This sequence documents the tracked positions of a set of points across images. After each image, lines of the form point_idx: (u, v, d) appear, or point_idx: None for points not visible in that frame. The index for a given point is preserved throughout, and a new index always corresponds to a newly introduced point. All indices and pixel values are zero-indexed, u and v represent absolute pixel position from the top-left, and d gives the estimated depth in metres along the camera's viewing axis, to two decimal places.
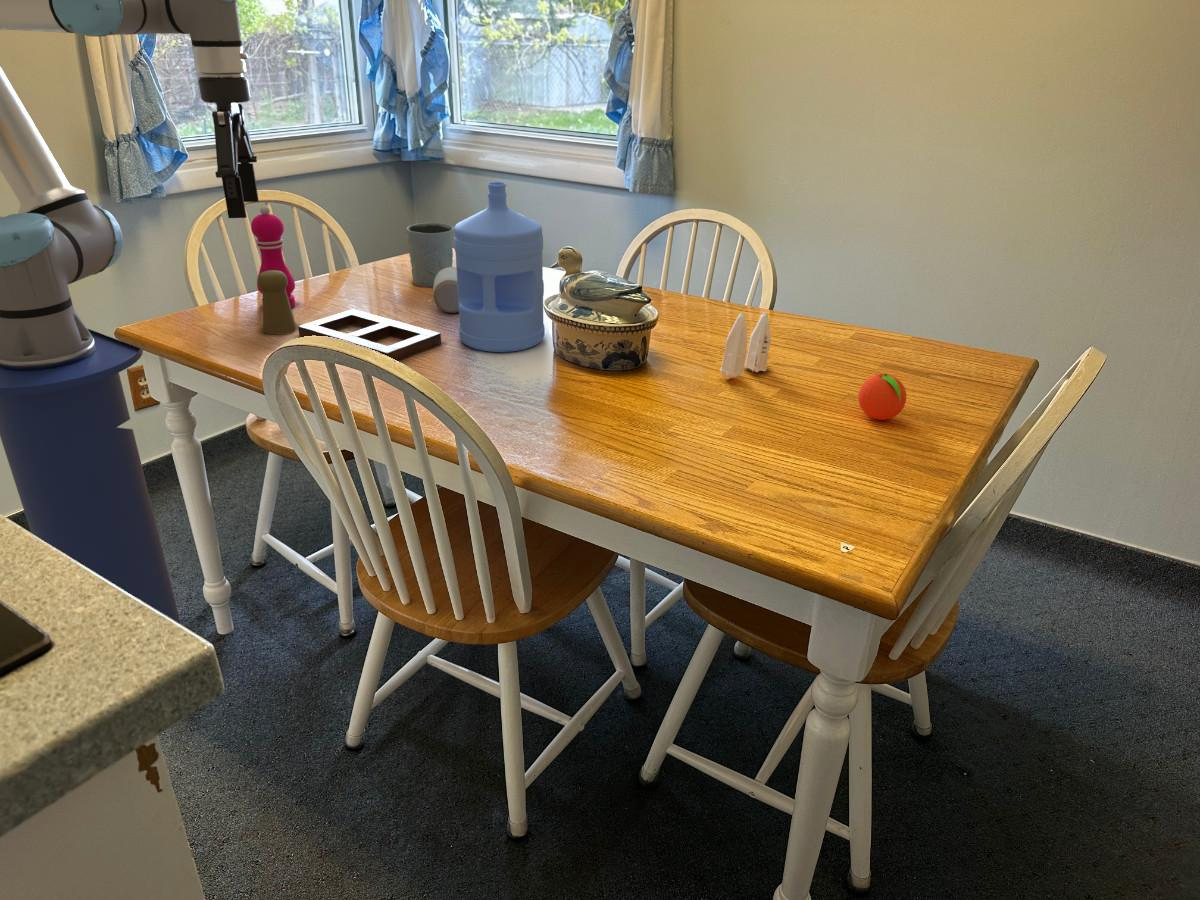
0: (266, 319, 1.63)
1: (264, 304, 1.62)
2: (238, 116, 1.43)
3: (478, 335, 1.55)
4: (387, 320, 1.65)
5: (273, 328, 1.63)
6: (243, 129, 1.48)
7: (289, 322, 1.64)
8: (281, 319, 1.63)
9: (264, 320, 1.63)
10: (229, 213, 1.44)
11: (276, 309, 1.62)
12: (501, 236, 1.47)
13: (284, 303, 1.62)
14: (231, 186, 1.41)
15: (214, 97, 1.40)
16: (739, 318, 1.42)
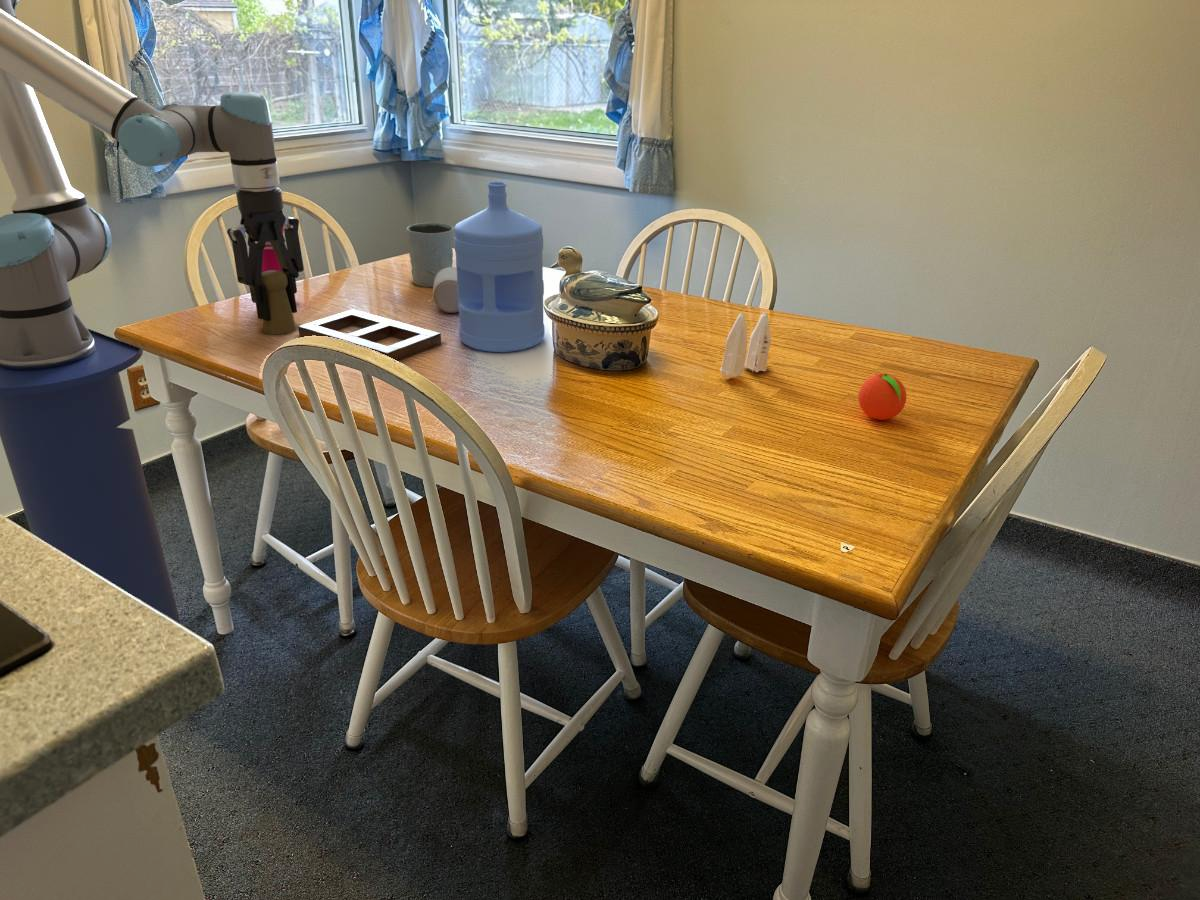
0: None
1: None
2: (261, 225, 1.55)
3: (478, 335, 1.55)
4: (387, 320, 1.65)
5: (273, 328, 1.63)
6: (277, 237, 1.58)
7: (289, 322, 1.64)
8: (281, 319, 1.63)
9: (264, 320, 1.63)
10: (258, 314, 1.62)
11: (276, 309, 1.62)
12: (501, 236, 1.47)
13: (284, 303, 1.62)
14: (253, 293, 1.59)
15: (239, 207, 1.53)
16: (739, 318, 1.42)
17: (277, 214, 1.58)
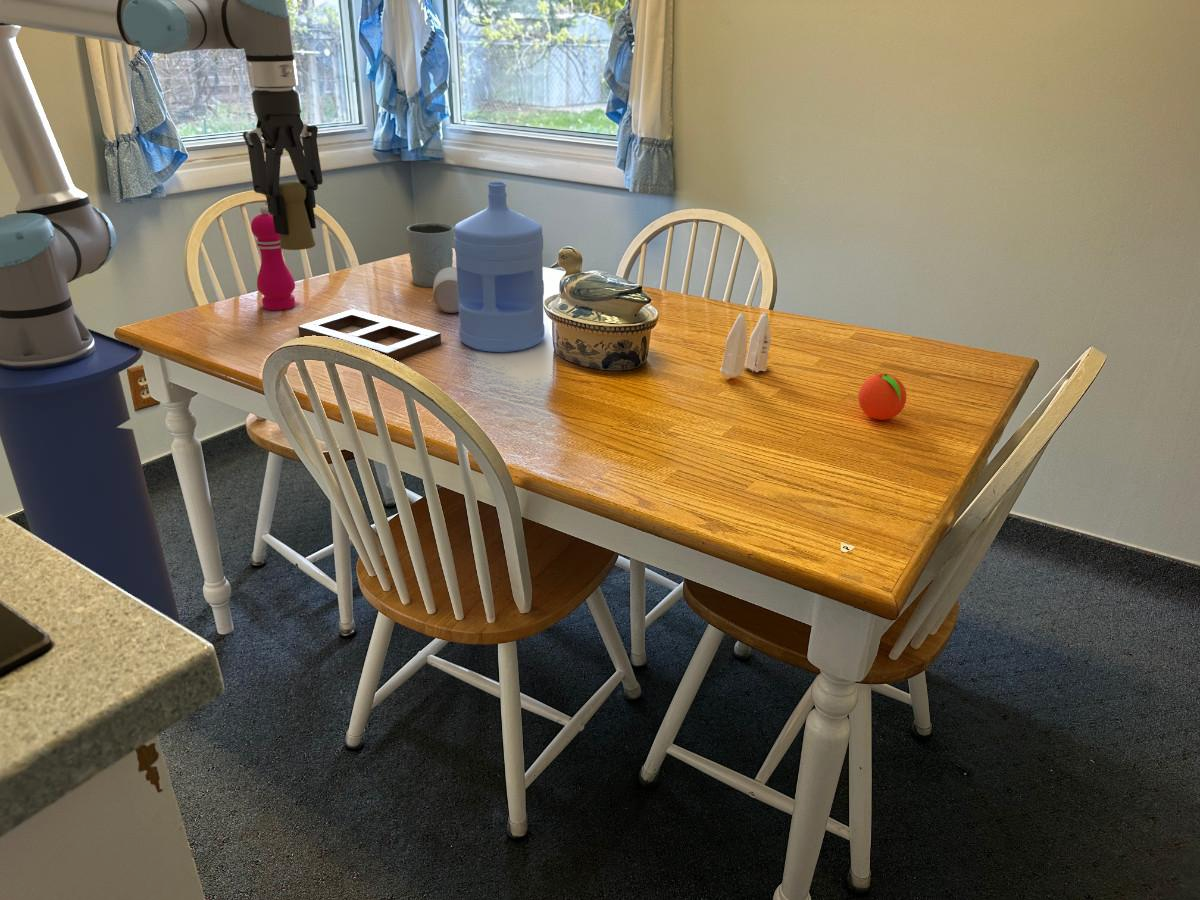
0: None
1: None
2: (278, 129, 1.46)
3: (478, 335, 1.55)
4: (387, 320, 1.65)
5: (291, 243, 1.54)
6: (295, 144, 1.49)
7: (308, 237, 1.55)
8: (299, 234, 1.53)
9: (281, 235, 1.54)
10: (275, 228, 1.53)
11: (294, 223, 1.52)
12: (501, 236, 1.47)
13: (302, 217, 1.53)
14: (270, 204, 1.50)
15: (255, 109, 1.44)
16: (739, 318, 1.42)
17: (295, 119, 1.48)
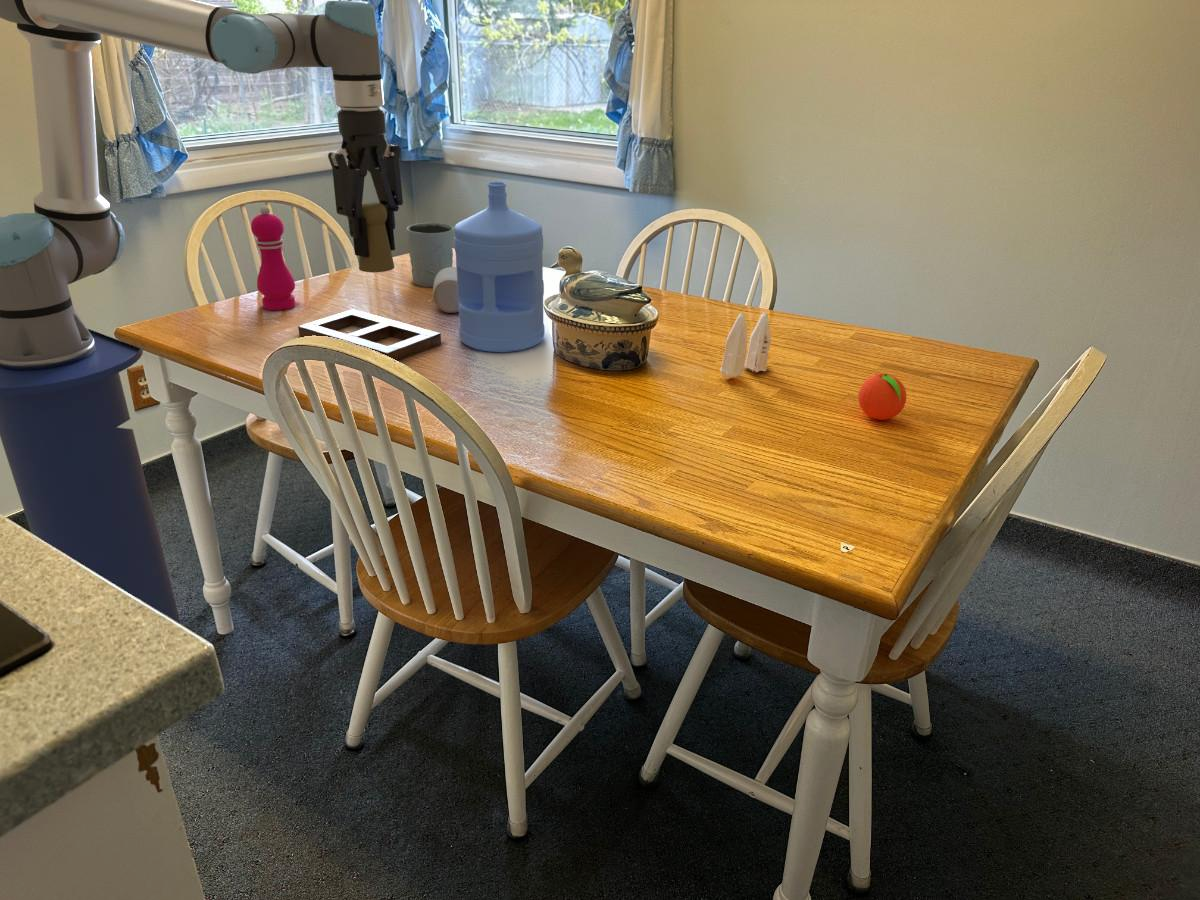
0: None
1: None
2: (364, 150, 1.42)
3: (478, 335, 1.55)
4: (387, 320, 1.65)
5: (372, 266, 1.50)
6: (378, 165, 1.45)
7: (388, 259, 1.51)
8: (380, 256, 1.49)
9: (361, 257, 1.50)
10: (355, 250, 1.49)
11: (375, 245, 1.48)
12: (501, 236, 1.47)
13: (383, 239, 1.49)
14: (352, 226, 1.46)
15: (340, 129, 1.40)
16: (739, 318, 1.42)
17: (379, 139, 1.44)
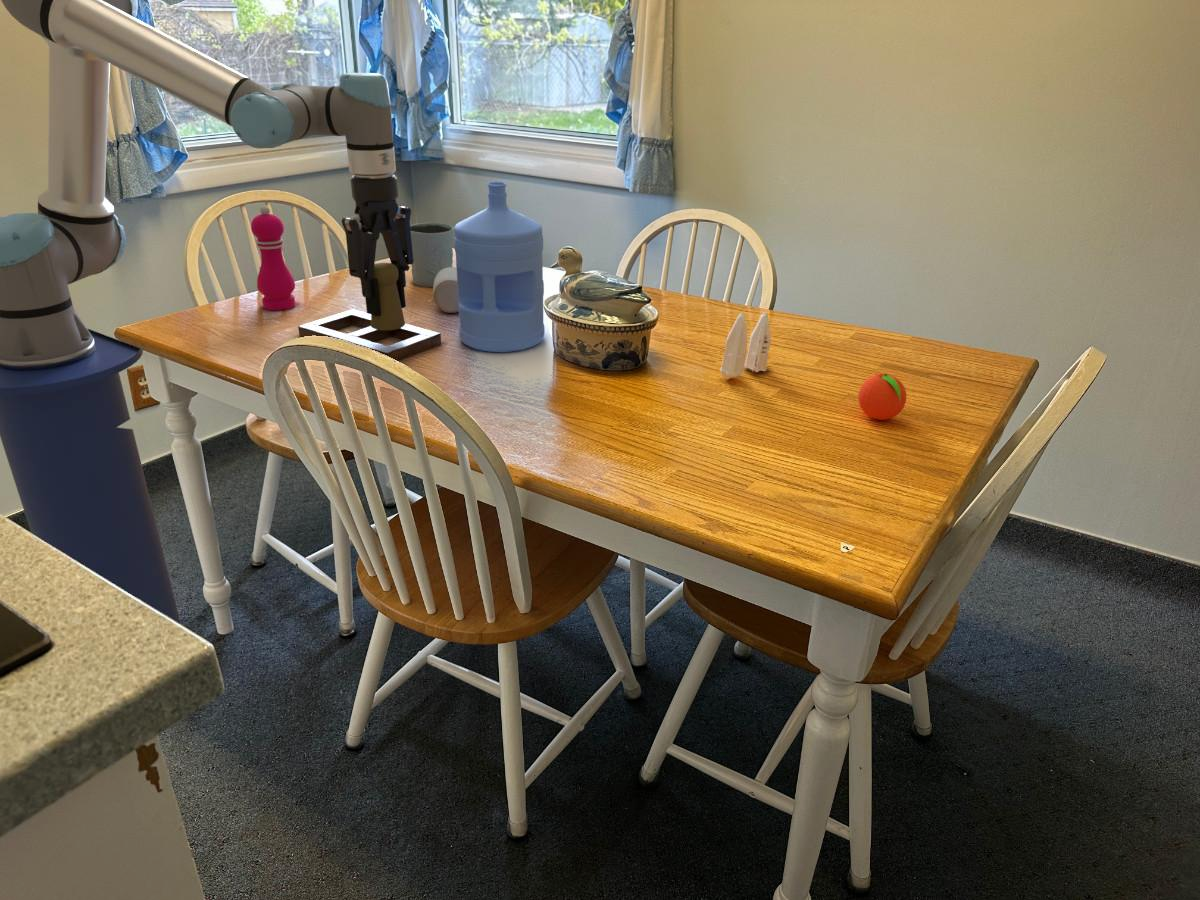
0: None
1: None
2: (376, 214, 1.46)
3: (478, 335, 1.55)
4: None
5: (383, 324, 1.54)
6: (390, 227, 1.49)
7: (399, 317, 1.55)
8: (391, 315, 1.54)
9: (373, 315, 1.54)
10: (367, 309, 1.53)
11: (386, 304, 1.53)
12: (501, 236, 1.47)
13: (395, 298, 1.53)
14: (364, 287, 1.50)
15: (354, 195, 1.44)
16: (739, 318, 1.42)
17: (391, 203, 1.49)
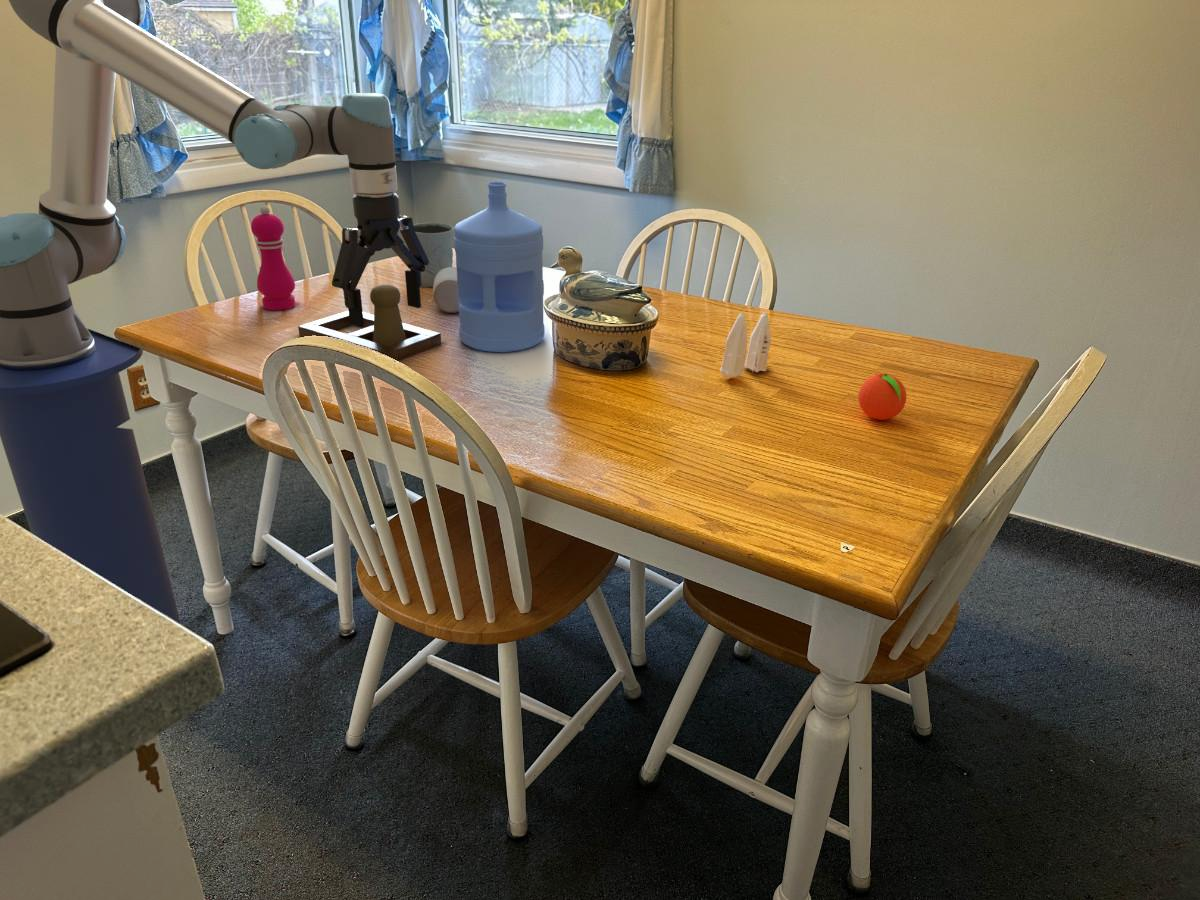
0: (378, 336, 1.55)
1: (376, 320, 1.55)
2: (378, 232, 1.47)
3: (478, 335, 1.55)
4: None
5: None
6: (396, 243, 1.51)
7: (401, 338, 1.57)
8: (393, 336, 1.55)
9: (375, 337, 1.56)
10: (350, 320, 1.51)
11: (388, 326, 1.54)
12: (501, 236, 1.47)
13: (397, 319, 1.55)
14: (347, 297, 1.48)
15: (356, 214, 1.46)
16: (739, 318, 1.42)
17: (391, 223, 1.50)
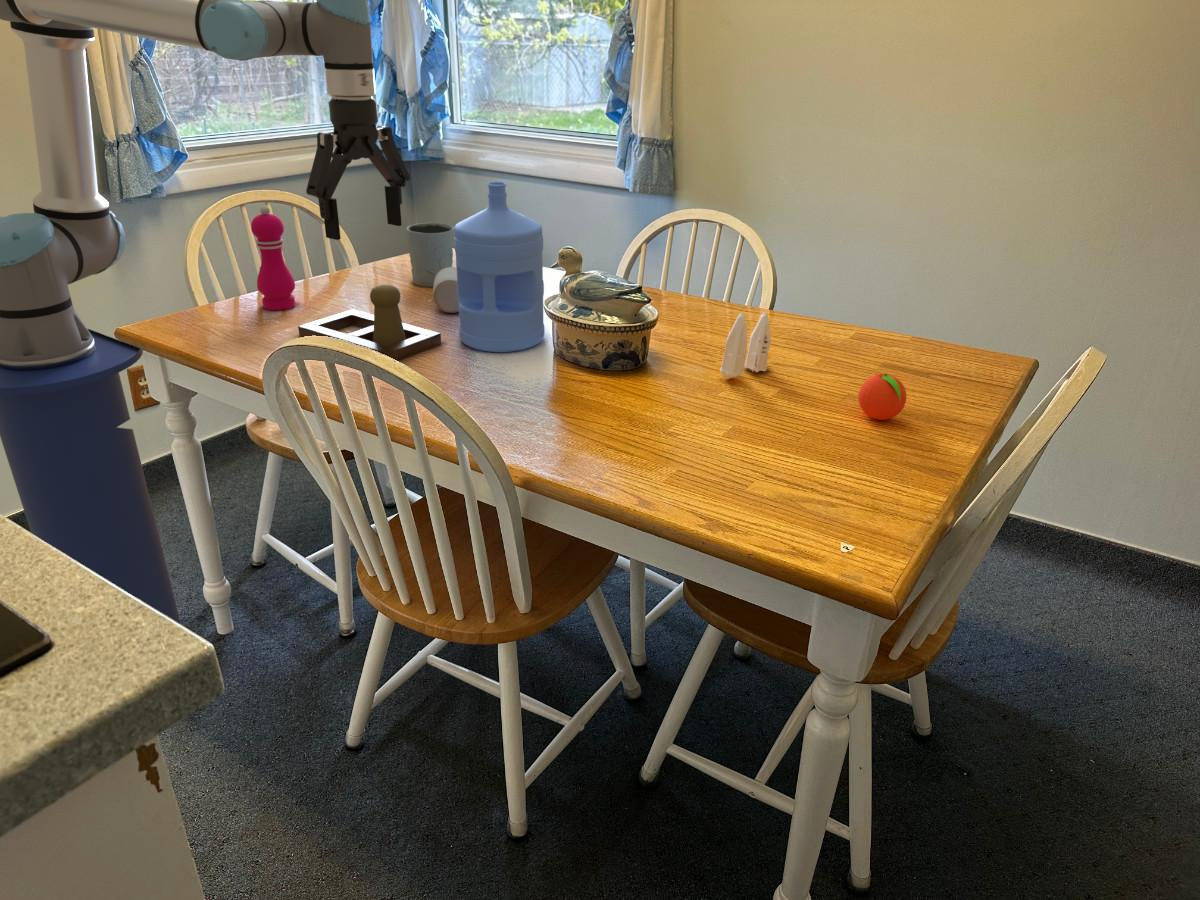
0: (378, 336, 1.55)
1: (376, 320, 1.55)
2: (355, 139, 1.41)
3: (478, 335, 1.55)
4: None
5: None
6: (374, 152, 1.45)
7: (401, 338, 1.57)
8: (393, 336, 1.55)
9: (375, 337, 1.56)
10: (326, 233, 1.45)
11: (388, 326, 1.54)
12: (501, 236, 1.47)
13: (397, 319, 1.55)
14: (322, 207, 1.41)
15: (332, 118, 1.39)
16: (739, 318, 1.42)
17: (369, 131, 1.43)
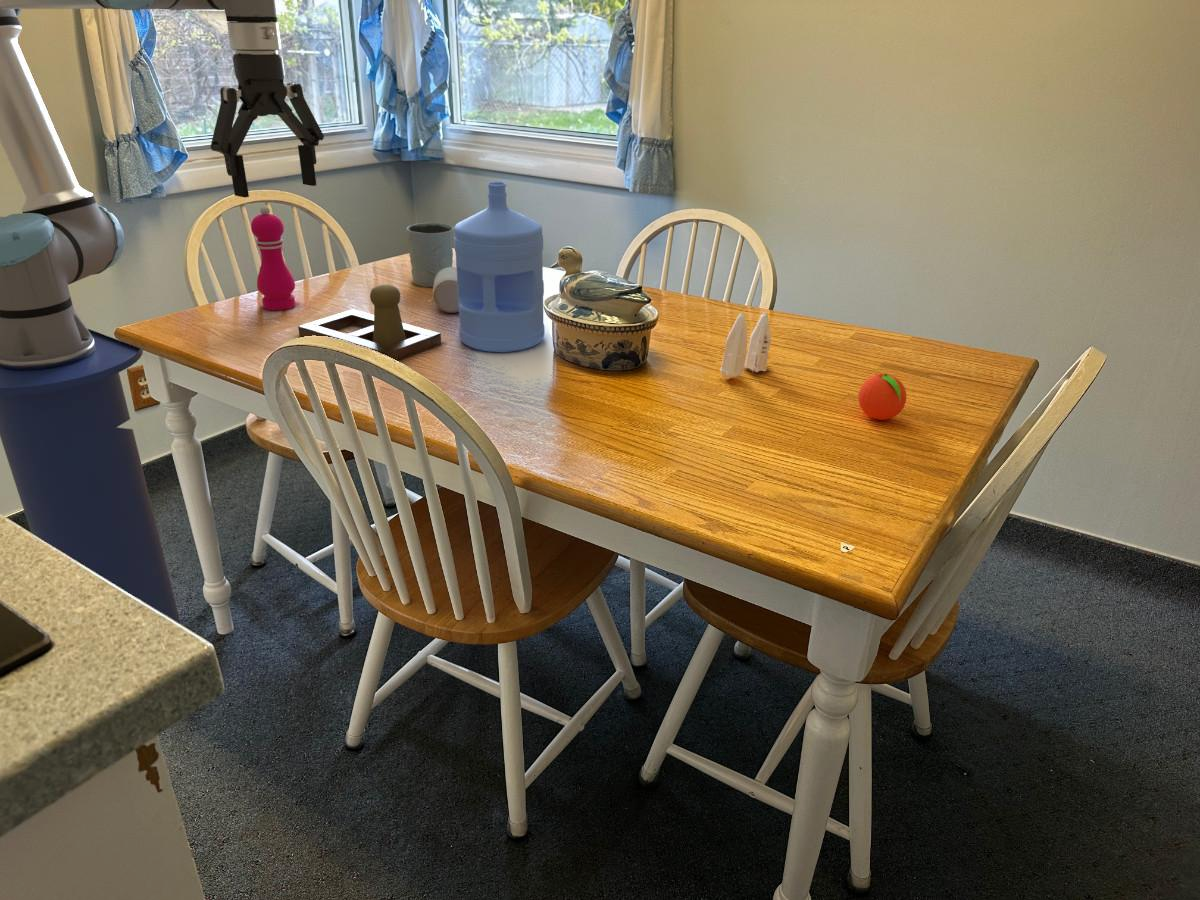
0: (378, 336, 1.55)
1: (376, 320, 1.55)
2: (260, 95, 1.39)
3: (478, 335, 1.55)
4: None
5: None
6: (283, 109, 1.44)
7: (401, 338, 1.57)
8: (393, 336, 1.55)
9: (375, 337, 1.56)
10: (235, 190, 1.43)
11: (388, 326, 1.54)
12: (501, 236, 1.47)
13: (397, 319, 1.55)
14: (228, 163, 1.40)
15: (236, 73, 1.38)
16: (739, 318, 1.42)
17: (277, 88, 1.42)
